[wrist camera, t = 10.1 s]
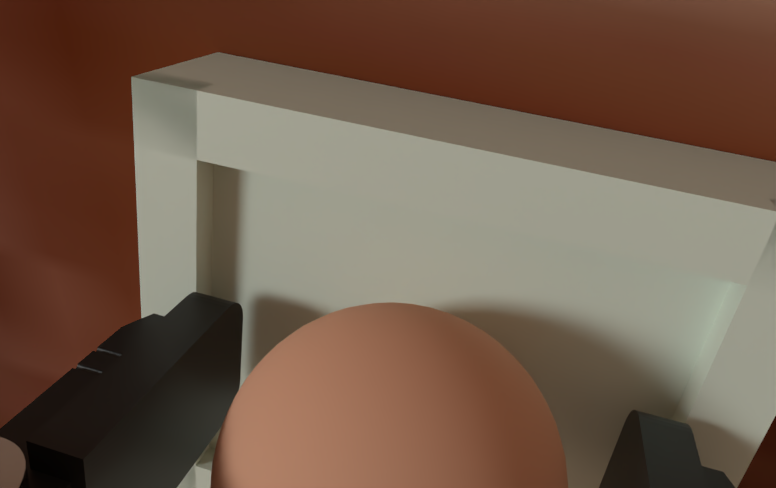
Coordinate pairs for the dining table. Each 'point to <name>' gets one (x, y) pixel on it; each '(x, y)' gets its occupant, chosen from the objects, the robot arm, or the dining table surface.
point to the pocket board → (469, 241)
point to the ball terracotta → (389, 409)
